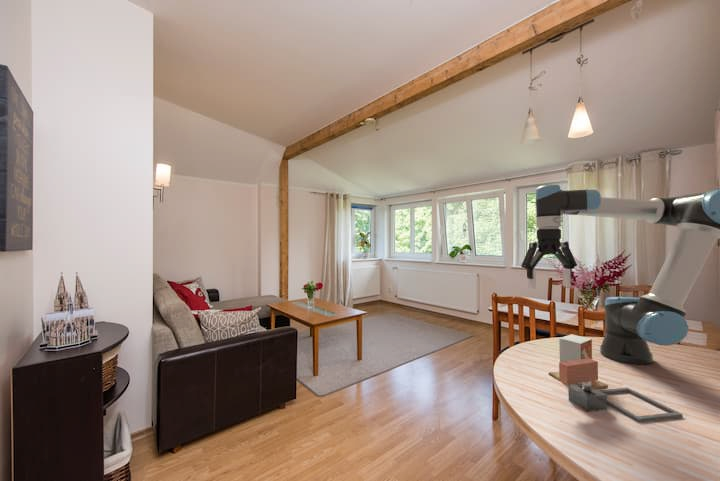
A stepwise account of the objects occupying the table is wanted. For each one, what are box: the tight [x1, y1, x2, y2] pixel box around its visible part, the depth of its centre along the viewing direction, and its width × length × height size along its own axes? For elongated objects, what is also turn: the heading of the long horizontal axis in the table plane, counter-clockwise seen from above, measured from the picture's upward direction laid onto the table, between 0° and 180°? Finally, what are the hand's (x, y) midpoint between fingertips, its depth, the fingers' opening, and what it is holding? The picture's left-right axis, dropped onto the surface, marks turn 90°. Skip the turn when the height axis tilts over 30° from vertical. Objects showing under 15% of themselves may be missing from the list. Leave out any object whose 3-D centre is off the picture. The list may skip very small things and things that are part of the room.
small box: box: [559, 333, 593, 385], centre depth 98 cm, size 8×6×13 cm
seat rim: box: [597, 387, 684, 423], centre depth 83 cm, size 13×14×1 cm
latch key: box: [558, 358, 599, 391], centre depth 83 cm, size 2×10×8 cm, turn 104°
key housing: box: [567, 385, 608, 413], centre depth 83 cm, size 6×6×4 cm
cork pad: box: [548, 371, 609, 389], centre depth 97 cm, size 11×11×1 cm
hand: (549, 287), depth 108 cm, fingers open, 13 cm apart
